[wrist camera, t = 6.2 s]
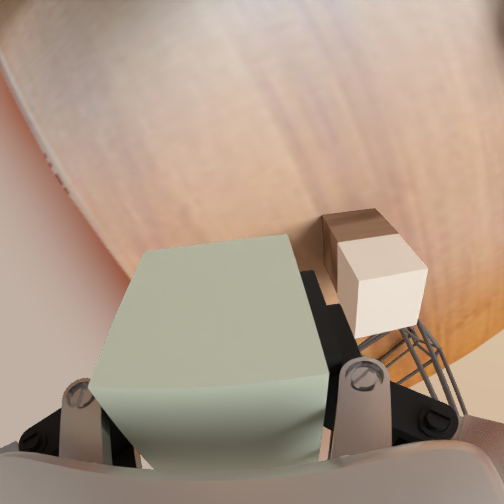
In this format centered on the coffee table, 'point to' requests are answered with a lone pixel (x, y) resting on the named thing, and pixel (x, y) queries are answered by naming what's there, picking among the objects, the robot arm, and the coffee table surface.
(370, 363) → the robot arm
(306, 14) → the coffee table surface
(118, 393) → the sage block
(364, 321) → the cream block
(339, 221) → the walnut block
